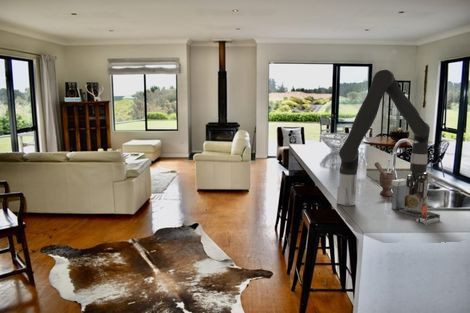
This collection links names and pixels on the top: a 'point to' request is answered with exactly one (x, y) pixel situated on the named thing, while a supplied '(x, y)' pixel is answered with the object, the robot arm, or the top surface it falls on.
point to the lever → (424, 213)
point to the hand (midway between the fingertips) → (416, 193)
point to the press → (399, 202)
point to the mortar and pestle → (385, 181)
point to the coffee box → (416, 195)
